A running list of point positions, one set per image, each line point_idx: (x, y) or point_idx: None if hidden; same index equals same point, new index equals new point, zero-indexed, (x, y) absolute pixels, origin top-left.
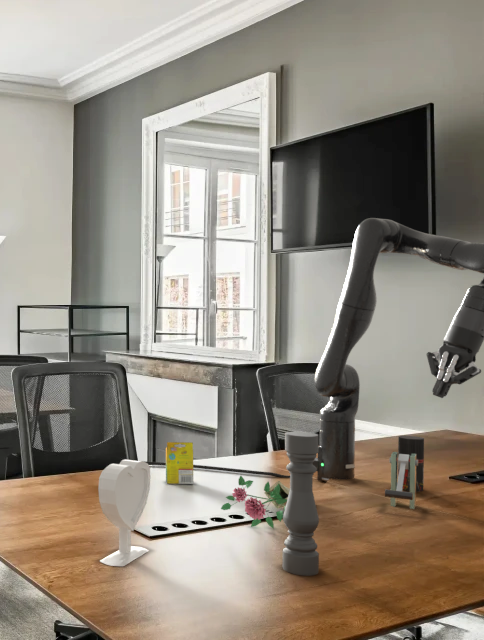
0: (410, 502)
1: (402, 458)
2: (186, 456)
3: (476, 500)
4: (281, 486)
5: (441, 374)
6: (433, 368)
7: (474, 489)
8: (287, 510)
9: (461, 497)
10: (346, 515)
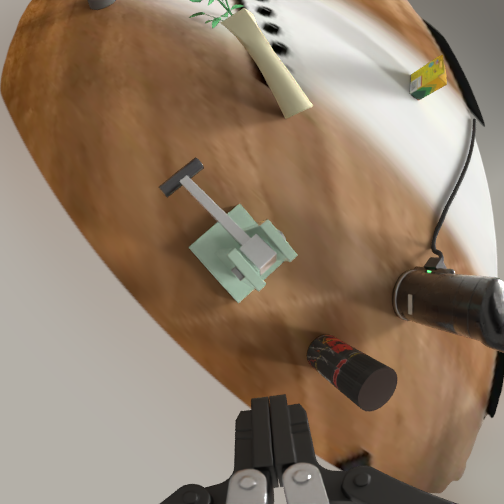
0: (219, 249)
1: (255, 245)
2: (431, 74)
3: None
4: (237, 12)
5: (296, 497)
6: (381, 497)
7: None
8: None
9: None
10: (240, 142)
